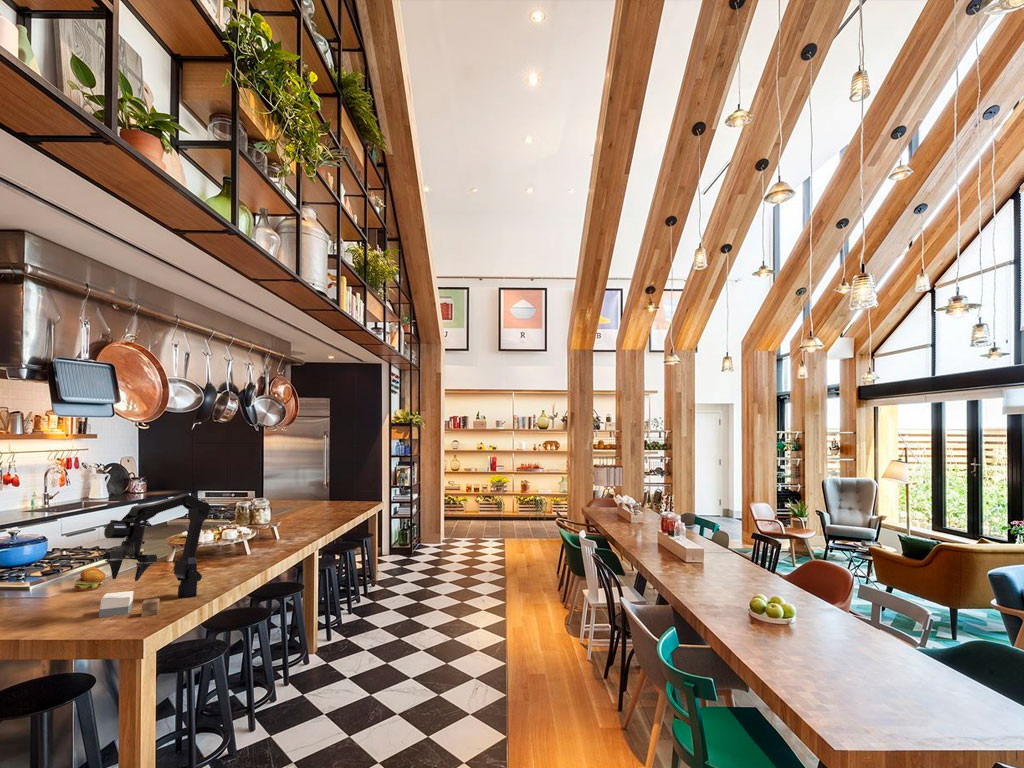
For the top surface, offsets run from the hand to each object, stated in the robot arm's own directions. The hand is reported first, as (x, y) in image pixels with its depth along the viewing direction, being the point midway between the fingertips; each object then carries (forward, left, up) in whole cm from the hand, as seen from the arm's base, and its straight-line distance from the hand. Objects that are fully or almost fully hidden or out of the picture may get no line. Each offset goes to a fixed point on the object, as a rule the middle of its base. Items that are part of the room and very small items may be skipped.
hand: (125, 580), depth 211 cm
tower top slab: (+2, -2, -9) cm, 10 cm away
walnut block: (-10, +5, -12) cm, 17 cm away
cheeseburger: (+19, -47, -13) cm, 52 cm away
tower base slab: (+2, -2, -13) cm, 13 cm away
